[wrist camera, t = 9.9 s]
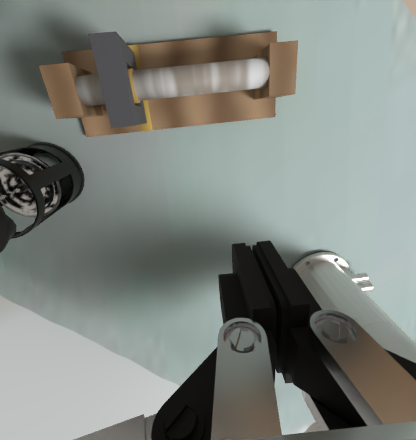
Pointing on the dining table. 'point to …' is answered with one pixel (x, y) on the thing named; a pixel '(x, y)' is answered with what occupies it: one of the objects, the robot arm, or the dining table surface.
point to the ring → (116, 79)
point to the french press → (34, 186)
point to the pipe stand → (181, 82)
